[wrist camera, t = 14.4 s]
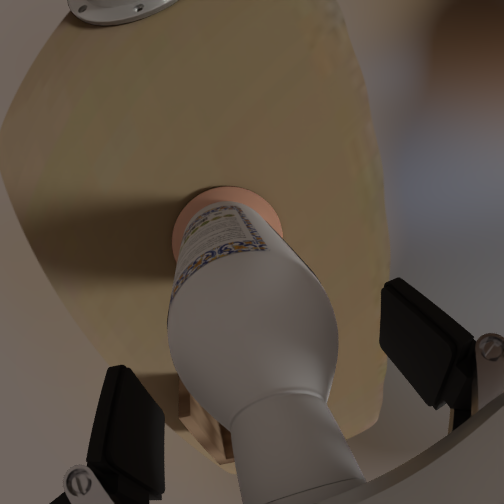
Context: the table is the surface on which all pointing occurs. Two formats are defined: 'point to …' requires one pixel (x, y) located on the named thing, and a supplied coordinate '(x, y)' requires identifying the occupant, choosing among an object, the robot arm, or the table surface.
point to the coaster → (218, 196)
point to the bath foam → (260, 355)
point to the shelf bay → (205, 427)
